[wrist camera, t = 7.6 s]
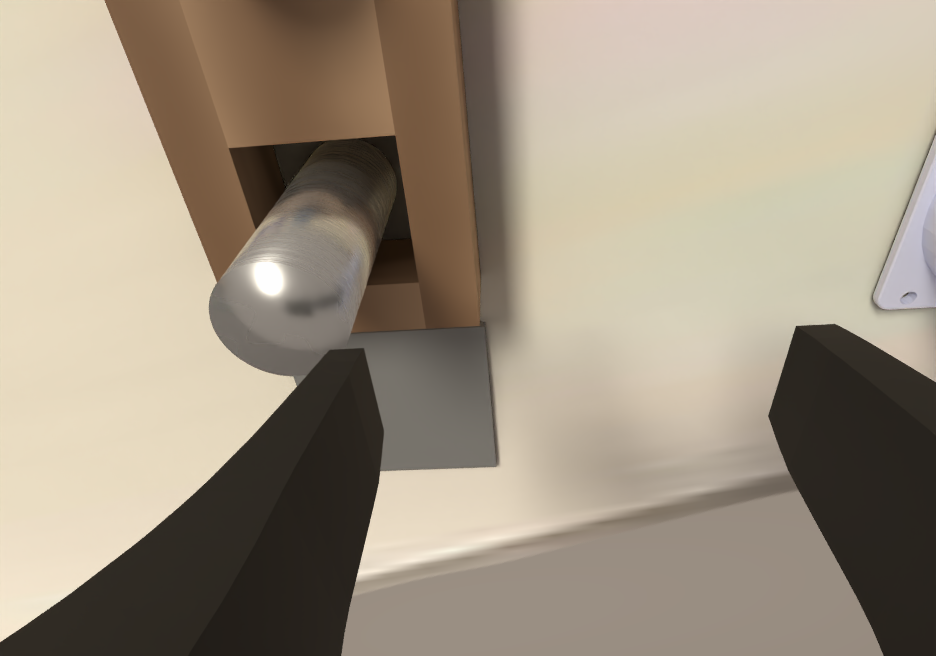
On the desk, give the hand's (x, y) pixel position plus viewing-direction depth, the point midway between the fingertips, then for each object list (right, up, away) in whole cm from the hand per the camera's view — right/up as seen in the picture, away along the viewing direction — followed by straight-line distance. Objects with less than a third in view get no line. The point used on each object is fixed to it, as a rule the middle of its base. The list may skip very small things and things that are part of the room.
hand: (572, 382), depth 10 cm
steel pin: (-6, +6, +9) cm, 12 cm away
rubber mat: (-5, -2, +15) cm, 16 cm away
